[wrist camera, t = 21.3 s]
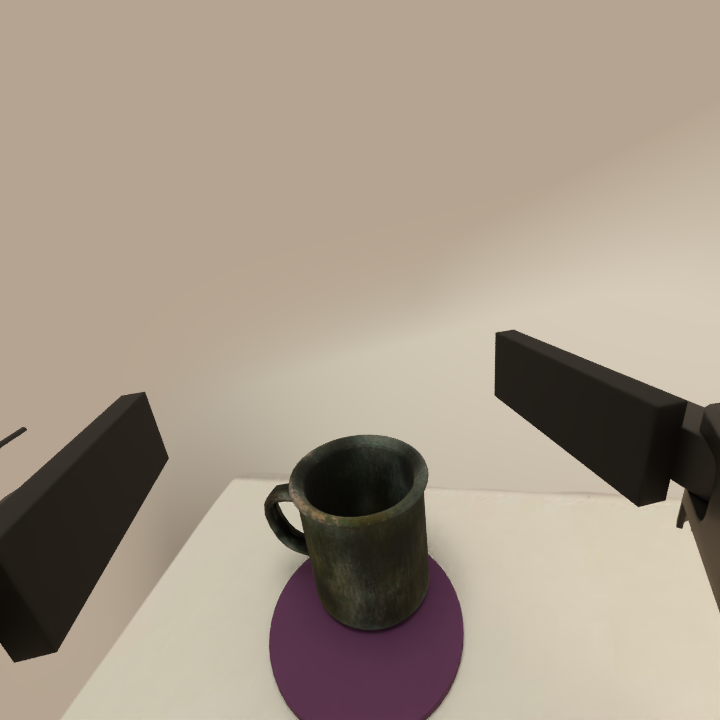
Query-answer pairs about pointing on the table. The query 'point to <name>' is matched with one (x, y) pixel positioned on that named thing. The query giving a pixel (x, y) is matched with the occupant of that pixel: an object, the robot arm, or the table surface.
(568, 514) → the table surface
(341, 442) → the mug
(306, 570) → the place mat
